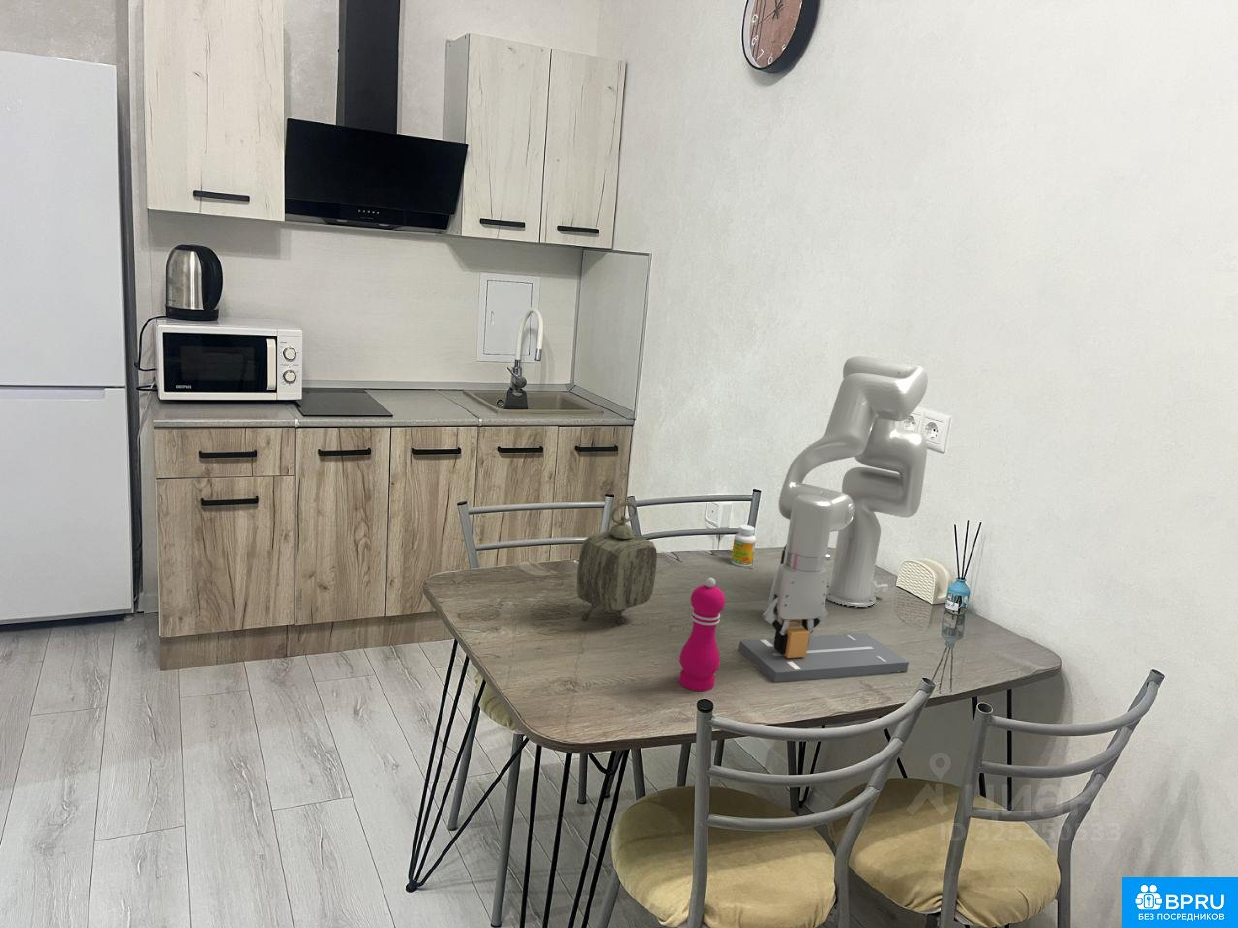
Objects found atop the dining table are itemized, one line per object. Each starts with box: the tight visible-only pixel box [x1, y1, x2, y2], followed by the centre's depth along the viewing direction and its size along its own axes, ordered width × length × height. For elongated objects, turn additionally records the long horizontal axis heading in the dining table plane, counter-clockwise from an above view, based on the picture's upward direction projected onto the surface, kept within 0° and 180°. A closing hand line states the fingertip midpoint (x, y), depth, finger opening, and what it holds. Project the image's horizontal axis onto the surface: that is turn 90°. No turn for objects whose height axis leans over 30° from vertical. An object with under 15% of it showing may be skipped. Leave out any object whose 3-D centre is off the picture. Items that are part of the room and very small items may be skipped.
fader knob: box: [781, 622, 811, 658], centre depth 178 cm, size 4×5×5 cm
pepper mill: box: [678, 577, 726, 692], centre depth 164 cm, size 7×7×20 cm
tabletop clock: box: [576, 501, 658, 625], centre depth 188 cm, size 14×9×25 cm, turn 134°
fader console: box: [737, 632, 910, 683], centre depth 182 cm, size 30×14×2 cm, turn 111°
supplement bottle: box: [731, 524, 757, 568], centre depth 235 cm, size 5×5×10 cm
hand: (790, 649), depth 179 cm, fingers closed on fader knob, 4 cm apart
